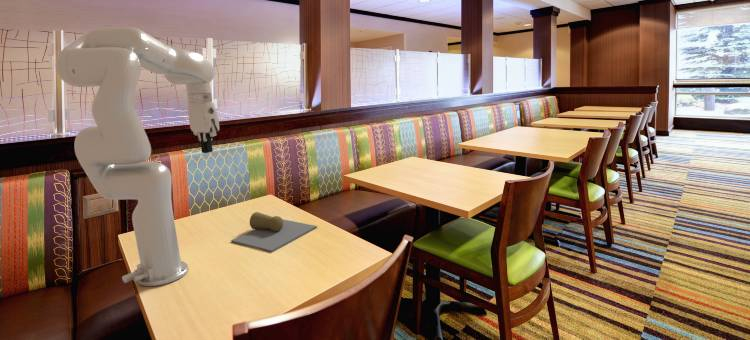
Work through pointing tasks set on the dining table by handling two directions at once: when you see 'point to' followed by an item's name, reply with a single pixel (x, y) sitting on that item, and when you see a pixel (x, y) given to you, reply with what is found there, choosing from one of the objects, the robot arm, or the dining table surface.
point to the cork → (266, 222)
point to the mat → (274, 236)
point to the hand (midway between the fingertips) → (207, 152)
